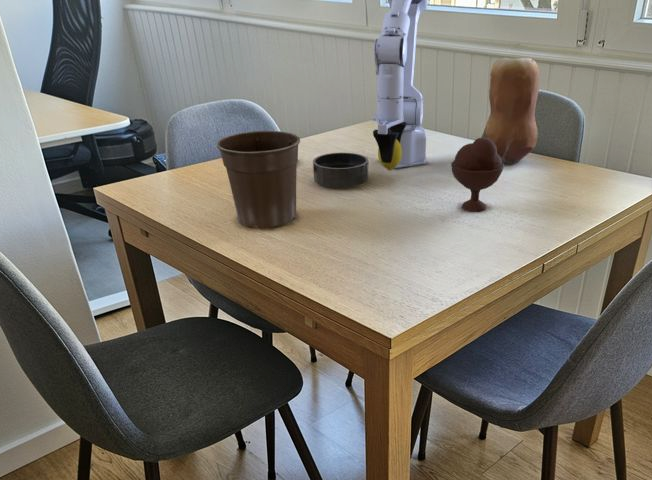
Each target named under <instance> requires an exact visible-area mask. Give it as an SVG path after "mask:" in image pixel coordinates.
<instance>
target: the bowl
mask: <svg viewBox="0 0 652 480" xmlns="http://www.w3.org/2000/svg"><path fill="white" fill-rule="evenodd" d="M312 171H313V172H312V173H313V174H312V175H313V182H314V183H315V184H317V185H318V186H321V187H325V188H331V189H350V188H355V187H358V186H362V185H364V184H366V183H367V182H369V179H370V161H369V158H368V157H367V156H365V155H364V154H359V153H355V152H354V153H353V152H331V153H324V154H321V155H318V156H316V157H314V159H313V160H312Z"/></svg>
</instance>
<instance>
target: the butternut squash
mask: <svg viewBox="0 0 652 480" xmlns="http://www.w3.org/2000/svg"><path fill="white" fill-rule="evenodd" d="M489 76H490V77H489V78H490V79H489V91H488V99H489V105H490V106H489V107H490V113H489V114H490V115H489V117H488V119H487V121H486V124H485V126H484V130H483V138H488V139H491V140H492V141H493V142H494V144H495V145H496V148H497V154H498V155H499V156H500V157H501V160H502V162H503V163H506V164H507V163H508V164H515V163H518V162H520V161H522V160H523V159H524V158H525V157H526V156H527V155H529V154H530V153H531V152H532V151H534V149H535V147H536V145H537V142H538V126H537V122H536V117H535V116H536V115H535V112H536V107H537V101H538V96H539V89H540V82H539V81H540V73H539V66H538V64H537V62H536V61H535V60H534V59H532V58H530V57H515V58H509V57H502V58H498V59H496V60H495V61H494V62H493V63H492V66H491V70H490V73H489Z"/></svg>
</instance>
